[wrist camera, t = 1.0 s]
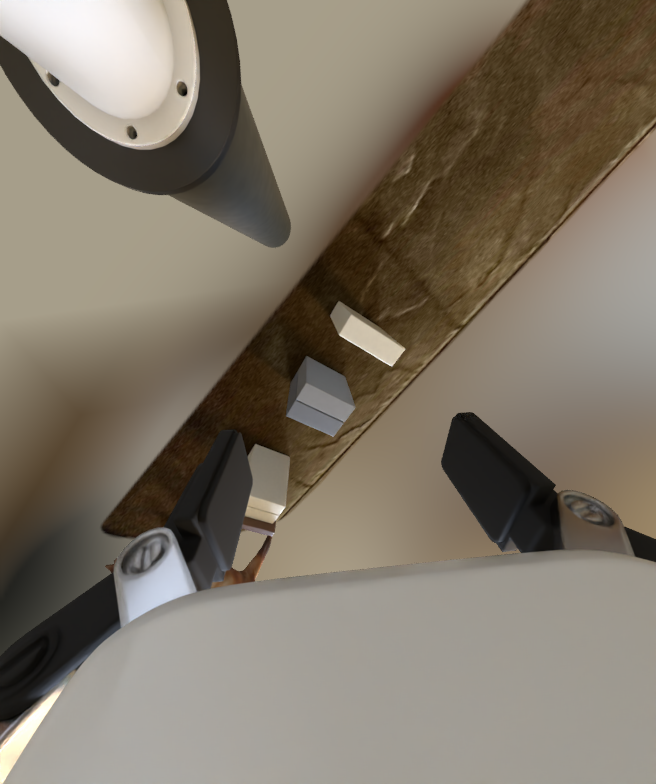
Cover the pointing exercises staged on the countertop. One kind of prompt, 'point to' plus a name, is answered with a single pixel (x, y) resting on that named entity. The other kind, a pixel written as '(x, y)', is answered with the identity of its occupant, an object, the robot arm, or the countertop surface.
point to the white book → (365, 334)
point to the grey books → (319, 397)
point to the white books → (266, 489)
